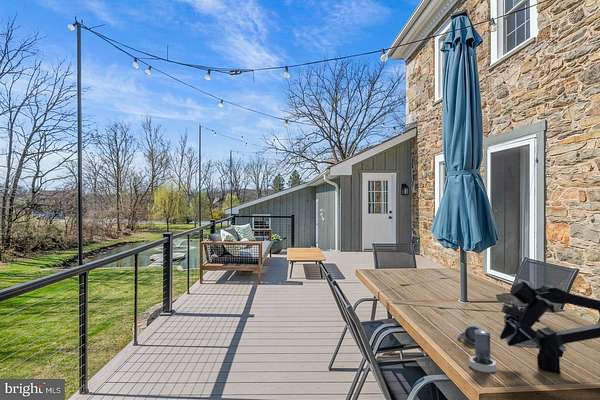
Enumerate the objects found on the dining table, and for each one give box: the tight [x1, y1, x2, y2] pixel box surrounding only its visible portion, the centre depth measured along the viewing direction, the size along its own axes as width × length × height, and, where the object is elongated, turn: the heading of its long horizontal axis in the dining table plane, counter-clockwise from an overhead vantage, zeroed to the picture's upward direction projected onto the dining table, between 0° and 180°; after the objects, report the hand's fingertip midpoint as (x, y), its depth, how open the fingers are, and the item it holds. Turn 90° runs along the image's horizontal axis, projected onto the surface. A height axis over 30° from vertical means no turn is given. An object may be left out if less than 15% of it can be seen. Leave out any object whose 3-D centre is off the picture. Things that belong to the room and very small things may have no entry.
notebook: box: [505, 335, 567, 351], centre depth 160 cm, size 13×2×21 cm
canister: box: [474, 329, 492, 365], centre depth 136 cm, size 5×5×13 cm
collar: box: [468, 355, 497, 374], centre depth 136 cm, size 9×9×2 cm
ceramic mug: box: [457, 323, 483, 345], centre depth 164 cm, size 11×8×8 cm
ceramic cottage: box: [509, 281, 535, 307], centre depth 228 cm, size 16×16×15 cm
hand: (504, 341), depth 136 cm, fingers open, 9 cm apart
